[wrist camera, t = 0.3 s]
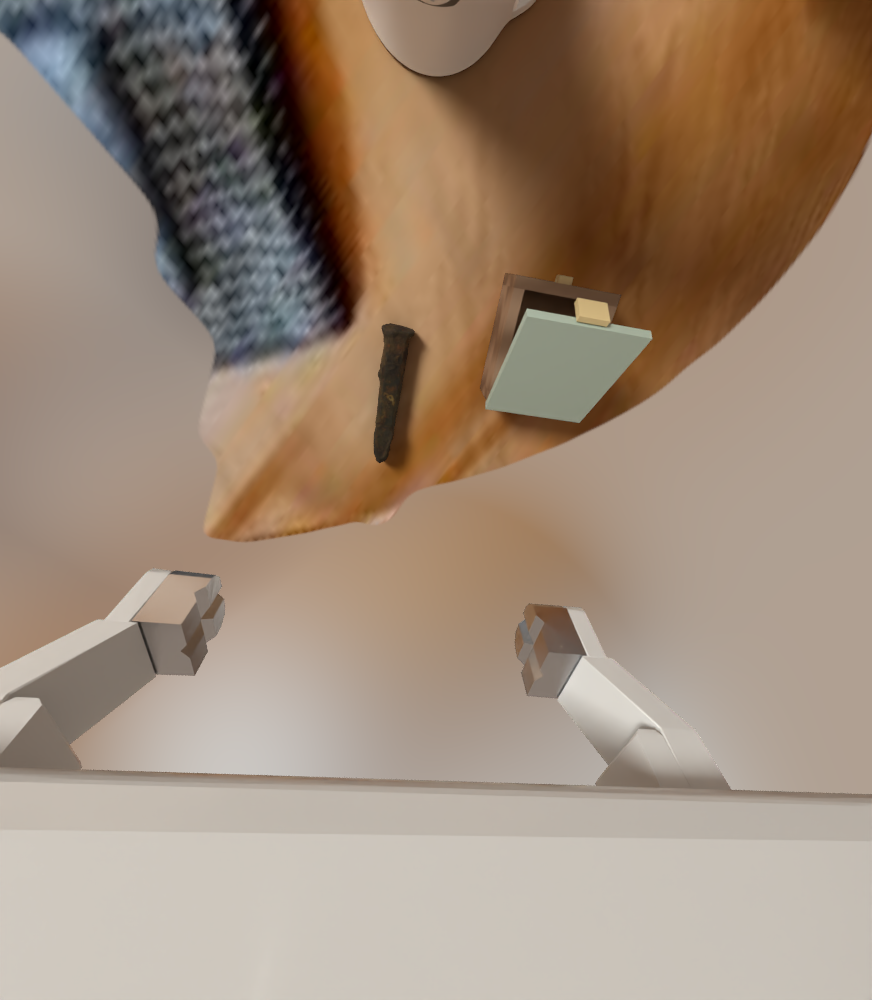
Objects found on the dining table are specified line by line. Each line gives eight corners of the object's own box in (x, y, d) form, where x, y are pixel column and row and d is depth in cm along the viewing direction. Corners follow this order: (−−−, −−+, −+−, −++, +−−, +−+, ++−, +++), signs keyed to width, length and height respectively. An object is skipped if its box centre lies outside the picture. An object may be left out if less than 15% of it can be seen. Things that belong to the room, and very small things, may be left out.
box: (506, 265, 46) (519, 266, 41) (600, 283, 48) (624, 286, 42) (479, 387, 54) (487, 402, 48) (561, 400, 55) (577, 415, 50)
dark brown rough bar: (384, 319, 49) (381, 324, 45) (415, 327, 50) (414, 333, 46) (362, 451, 58) (358, 465, 54) (388, 457, 59) (386, 471, 55)
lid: (529, 288, 35) (530, 309, 34) (652, 311, 37) (657, 332, 36) (485, 391, 49) (485, 409, 48) (577, 405, 50) (579, 422, 49)
